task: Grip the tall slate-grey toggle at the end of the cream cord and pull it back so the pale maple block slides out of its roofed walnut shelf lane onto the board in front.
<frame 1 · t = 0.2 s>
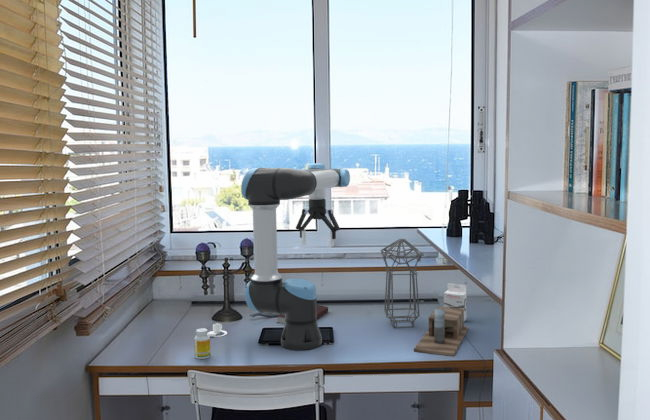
hand: (317, 245, 270), 28 cm above the table, tool pointing down, fingers open, 13 cm apart
geometric lantern: (402, 324, 244), on the table
ink box: (455, 320, 249), on the table
supplement bottle: (202, 357, 211), on the table
book: (303, 319, 256), on the table
teacup and saucer: (209, 335, 236), on the table
shelf lane: (442, 339, 224), on the table
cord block: (447, 328, 234), point 1 cm above the table, touching shelf lane
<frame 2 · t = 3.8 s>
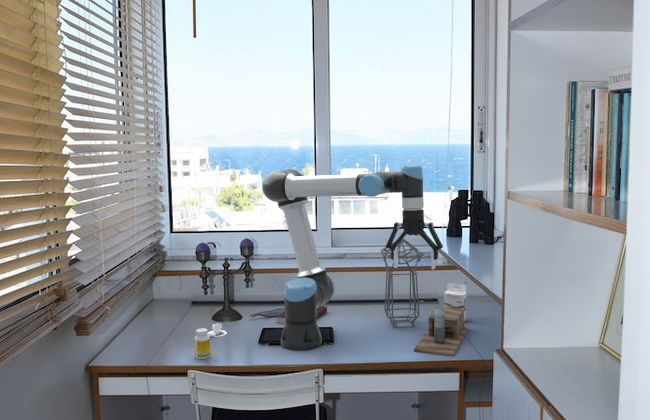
hand: (414, 268, 216), 28 cm above the table, tool pointing down, fingers open, 13 cm apart
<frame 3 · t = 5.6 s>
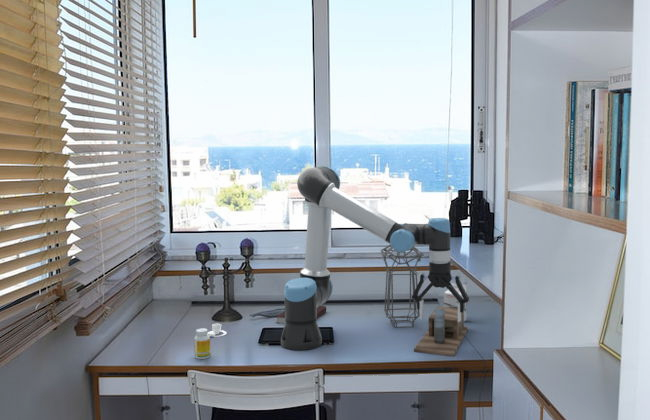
hand: (440, 319, 218), 9 cm above the table, tool pointing down, fingers open, 13 cm apart
nothing on the table moved.
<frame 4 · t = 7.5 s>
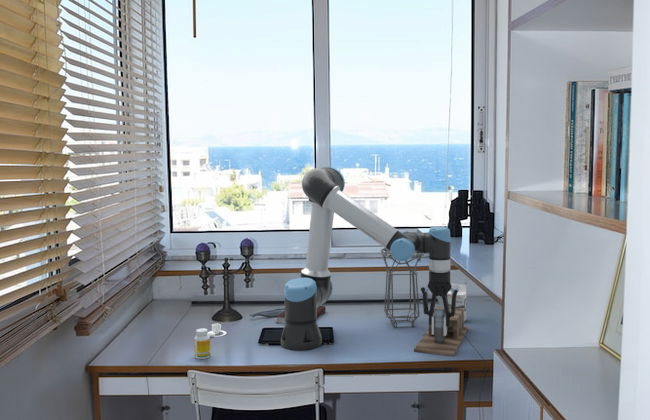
hand: (439, 333, 218), 4 cm above the table, tool pointing down, fingers closed on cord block, 3 cm apart
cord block: (448, 328, 234), point 1 cm above the table, touching gripper, shelf lane
everything else where it was.
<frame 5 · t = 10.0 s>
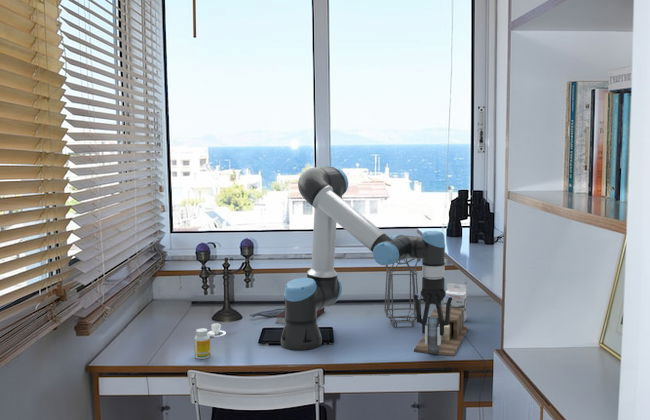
hand: (433, 343, 208), 4 cm above the table, tool pointing down, fingers closed on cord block, 3 cm apart
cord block: (442, 336, 224), point 1 cm above the table, touching gripper
when the fingers open (4 cm above the table, at t = 12.6 s): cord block stays where it is, resting on shelf lane.
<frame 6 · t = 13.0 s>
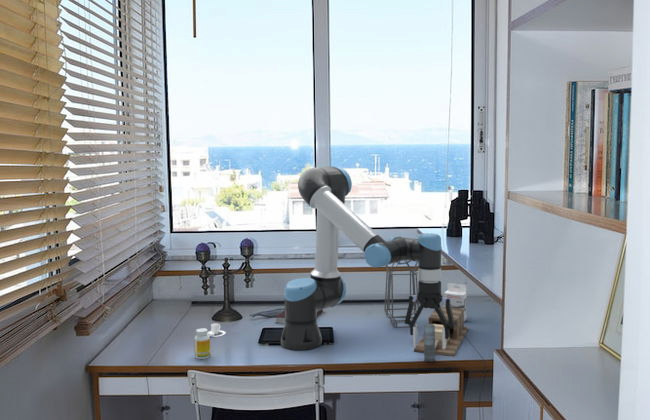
hand: (429, 346, 203), 5 cm above the table, tool pointing down, fingers open, 9 cm apart
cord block: (439, 341, 219), point 1 cm above the table, touching shelf lane
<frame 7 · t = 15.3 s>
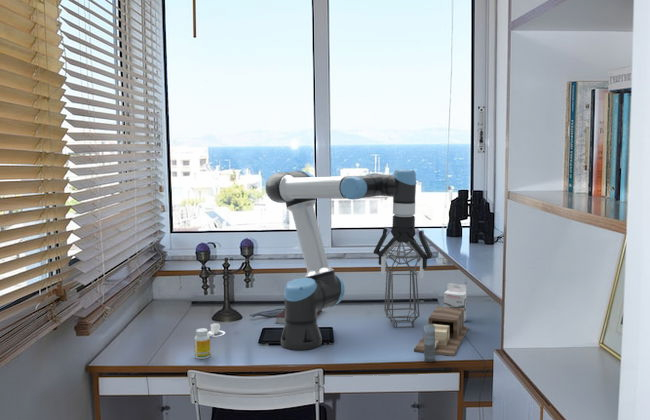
hand: (402, 276, 208), 27 cm above the table, tool pointing down, fingers open, 13 cm apart
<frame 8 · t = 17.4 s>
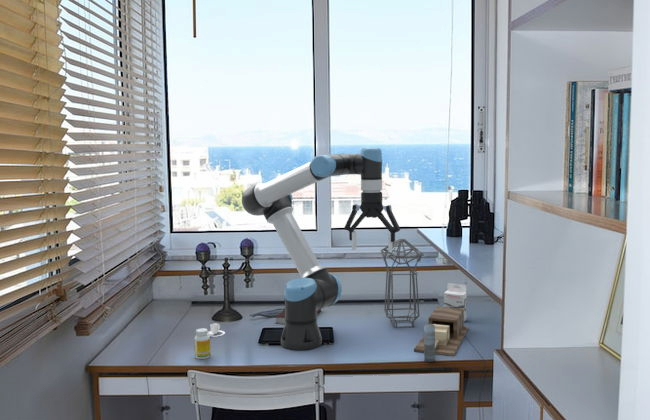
hand: (372, 250, 217), 35 cm above the table, tool pointing down, fingers open, 13 cm apart
at the end: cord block inside the target area (2.2 cm from its centre), point 1.2 cm above the table; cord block tilted 4°; the gripper is holding nothing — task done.
